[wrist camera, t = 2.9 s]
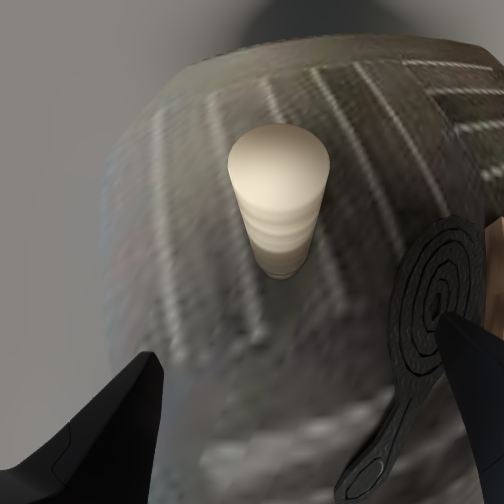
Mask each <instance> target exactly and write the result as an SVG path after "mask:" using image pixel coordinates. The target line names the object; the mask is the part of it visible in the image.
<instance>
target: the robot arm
mask: <svg viewBox="0 0 504 504" xmlns="http://www.w3.org/2000/svg"><path fill="white" fill-rule="evenodd" d="M434 337H435V341H436V344H437V347H438V350H439V353H440V356H441V360H442V363H443V366H444V369H445V373H446V376H447V378H448V381H449V384H450V386H451V389H452V391H453V394H454V396H455V399H456V402H457V405H458V407H459V410H460V413H461V416H462V419H463V422H464V425H465V428H466V431H467V434H468V437H469V441H470V444H471V447H472V451H473V454H474V458H475V462H476V466H477V470H478V474H479V479H480V483H481V488H482V493H483V498H484V504H504V340H503V339H501V338H499V337H497V336H496V335H494V334H492V333H490V332H489V331H487V330H485V329H483V328H482V327H480V326H478V325H476V324H475V323H473V322H471V321H469V320H467V319H466V318H464V317H462V316H460V315H458V314H457V313H455V312H453V311H449V312H445V313H442V314H441V315H440V317H439V320H438V323H437V326H436V329H435V333H434ZM163 381H164V370H163V368H162V366H161V364H160V362H159V360H158V358H157V356H156V354H155V353H154V352H152V351H143V352H140V353H139V354H138V355H137V356H136V357H135V358H134V359H133V360H132V361H131V362H130V363H129V364H128V365H127V366H126V367H125V368H124V369H123V370H122V371H121V372H120V373H119V374H117V375H116V376H115V377H114V378H113V379H112V380H111V381H110V382H109V383H108V384H107V385H106V386H105V387H104V388H103V389H102V390H101V391H100V392H99V393H98V394H97V395H96V396H95V397H94V398H93V399H92V400H91V401H90V402H89V403H88V404H87V405H86V406H85V407H84V408H82V410H80V412H78V413H77V414H76V415H75V416H74V417H73V418H72V419H71V420H70V422H68V423H67V424H66V425H65V426H64V427H63V428H62V429H61V430H60V431H59V432H58V433H57V434H55V435H54V436H53V437H52V438H51V439H50V440H49V441H48V442H46V443H45V444H44V445H43V446H42V447H40V448H39V449H38V450H37V451H35V452H34V453H33V454H31V455H30V456H29V457H28V458H26V459H25V460H24V461H22V462H21V463H20V464H18V465H17V466H15V467H13V468H11V469H7V470H0V504H147V503H148V495H149V488H150V481H151V474H152V467H153V460H154V454H155V448H156V442H157V436H158V430H159V425H160V419H161V409H162V394H163Z"/></svg>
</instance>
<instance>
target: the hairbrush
mask: <svg viewBox="0 0 504 504" xmlns="http://www.w3.org/2000/svg"><path fill="white" fill-rule="evenodd" d="M459 217H460V216H459ZM459 217H457V216H456V215H451V216H449V217H447V218H441V219H439V220H437V221H435V222H433V223H431V224H430V225H428V226H427V227H426V228H425V229H424V230H423V232H422V233H421V234H420V236H419V237H418V238H417V239H416V240H415V242H414V243H413V245H412V246H411V247H410V249H409V250H408V251H407V253H406V254H405V255H404V256H403V258H402V262H401V265H400V268H399V271H398V273H397V276H396V280H395V284H394V288H393V291H392V295H391V299H390V307H389V319H388V329H387V332H388V338H389V340H388V349H389V345H390V351H391V354H390V352H389V354H390V359H391V364H392V369H393V374H394V383H395V392H396V403H395V405H394V407H393V408H392V410H391V412H390V414H389V416H388V418H387V419H386V421H385V423H384V425H383V426H382V428H381V430H380V431H379V433H378V435H377V436H376V438H375V440H374V441H373V442H372V443H371V444H370V445H369V447H368V448H367V449H366V450H365V451H364V452H363V453H362V454H361V455H360V456H359V457H358V458H357V459H356V460H355V461H354V462H353V463H352V464H351V465H350V466H349V467H348V468H347V469H346V471H345V472H344V474H343V476H342V477H341V479H340V481H339V482H338V484H337V485H336V487H335V488H336V490H335V489H334V490H335V494H334V499H335V503H336V504H356V503H358V502H360V501H363V500H365V499H367V498H368V497H369V496H370V495H371V494H372V493H373V492H374V491H375V490H376V489H377V488H378V487H379V486H380V485H381V484H382V483H383V482H384V481H385V480H386V479H387V477H388V475H389V473H390V471H391V469H392V467H393V465H394V463H395V461H396V459H397V457H398V455H399V453H400V450H401V448H402V446H403V444H404V442H405V440H406V438H407V436H408V434H409V432H410V430H411V428H412V426H413V423H414V421H415V419H416V416H417V414H418V412H419V409H420V407H421V405H422V404H423V402H424V400H425V399H426V397H427V396H428V394H429V392H430V391H431V389H432V387H433V386H434V384H435V383H436V382H437V380H438V379H439V378H440V377H441V375H442V374H443V373H444V371H445V369H444V366H443V363H442V360H441V356H440V353H439V350H438V349H437V350H435V349H436V348H437V344H436V341H435V337H434V333H435V331H434V332H432V333H427V332H426V329H427V330H428V331H433V330H435V329H436V326H437V323H438V320H439V317H440V315H441V314H442V313H445V312H449V311H453V312H455V313H457V314H458V315H460V316H462V317H464V318H466V319H467V320H469V321H471V322H472V319H473V316H474V313H475V309H476V305H477V302H478V297H479V292H480V288H481V281H482V268H483V251H484V249H482V246H481V244H480V241H482V240H480V241H479V239H478V236H477V234H478V233H477V234H476V231H475V229H474V227H473V225H474V223H473V224H472V223H470V222H469V220H468V221H466V220H467V218H466V220H464V219H462V218H459ZM445 230H450V231H447V232H445V233H443V234H441V235H439V236H437V237H435V238H434V239H432V238H433V237H434V236H435V235H437V234H439V233H441V232H443V231H445ZM479 231H480V230H479ZM479 231H478V232H479ZM480 232H481V231H480ZM480 232H479V233H480ZM478 235H479V234H478ZM430 239H432V240H430ZM429 240H430V242H429V243H428V244H427V245H426V246H425V248H424V249H423V250H422V248H423V246H424V245H425V244H426V243H427V242H428V241H429ZM448 241H449V242H450V243H448V244H446V245H443V246H441V245H442V244H443V243H445V242H448ZM439 246H441V247H439ZM438 247H439V248H438ZM437 248H438V249H437ZM435 249H437V250H436V251H435V252H434V253H433V254H432V252H433V251H434V250H435ZM421 250H422V251H421ZM431 254H432V255H431ZM430 255H431V256H430ZM445 261H447V262H446V263H443V264H442V265H440V266H439V267H437V266H438V265H439V264H441V263H442V262H445ZM409 275H410V276H409ZM440 280H441V281H440ZM405 286H406V287H405ZM436 293H437V294H438V293H439V297H438V299H439V306H438V307H439V309H438V311H437V313H436V316H435V319H434V320H432V316H431V310H430V307H431V306H432V305H433V304H432V302H433V300H434V298H435V295H436ZM447 297H448V298H447ZM412 303H413V306H412ZM431 304H432V305H431ZM432 308H433V307H431V309H432ZM399 312H400V315H399ZM398 316H399V321H398ZM425 327H426V329H425ZM411 339H412V341H413V343H412V341H411ZM399 344H400V348H399ZM400 349H401V351H400ZM418 352H419V353H421V354H422V355H429V356H426V357H423V358H422V357H421V356H420V355H419V353H418ZM401 353H402V354H401ZM405 365H406V366H405ZM406 367H407V368H408V370H409V371H408V370H407V369H406ZM410 371H411V372H413V373H416V374H417V373H418V375H414V374H412V373H411V372H410ZM426 372H427V373H426ZM346 490H347V491H346ZM346 494H347V497H346Z"/></svg>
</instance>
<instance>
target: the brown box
mask: <svg viewBox="0 0 504 504" xmlns="http://www.w3.org/2000/svg"><path fill="white" fill-rule="evenodd" d="M484 230H485V245H486V303H485V318H484V328H483V329H485V330H487V331H489V332H490V333H492V334H494V335H496V336H497V337H499V338H501V339H503V340H504V217H500V218H499V219H498V220H496V221H495V222H493V223H492V224H491V225H489V226H488V227H487V228H485V229H484Z"/></svg>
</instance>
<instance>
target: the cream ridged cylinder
mask: <svg viewBox="0 0 504 504" xmlns="http://www.w3.org/2000/svg"><path fill="white" fill-rule="evenodd" d="M329 169H330V161H329V156H328V152H327V150H326V148H325V147H324V145H323V143H322V142H321V141H320V140H319V139H318V138H317V137H316V136H315V135H313V134H312V133H311V132H309V131H307V130H305V129H303V128H301V127H298V126H294V125H290V124H268V125H263V126H260V127H257V128H255V129H252V130H250V131H249V132H247V133H246V134H244V135H243V136H242V137H241V138H239V139H238V141H237V142H236V143H235V144H234V146H233V147H232V149H231V152H230V154H229V158H228V170H229V175H230V178H231V181H232V184H233V188H234V191H235V194H236V197H237V201H238V204H239V207H240V211H241V214H242V217H243V220H244V224H245V227H246V230H247V233H248V237H249V240H250V243H251V246H252V252H253V256H254V258H255V261H256V263H257V264H258V265H259V267H260V268H261V269H263V270H264V272H265V273H266V274H267V275H268V276H270V277H271V278H273V279H277V280H285V279H288V278H290V277H292V276H294V275H295V274H296V273H297V271H298V270H299V269H300V268H301V267H302V266H303V265H304V263H305V262H306V260H307V257H308V254H309V247H310V244H311V240H312V237H313V233H314V229H315V225H316V222H317V218H318V214H319V210H320V206H321V202H322V198H323V194H324V190H325V186H326V182H327V178H328V174H329Z"/></svg>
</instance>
